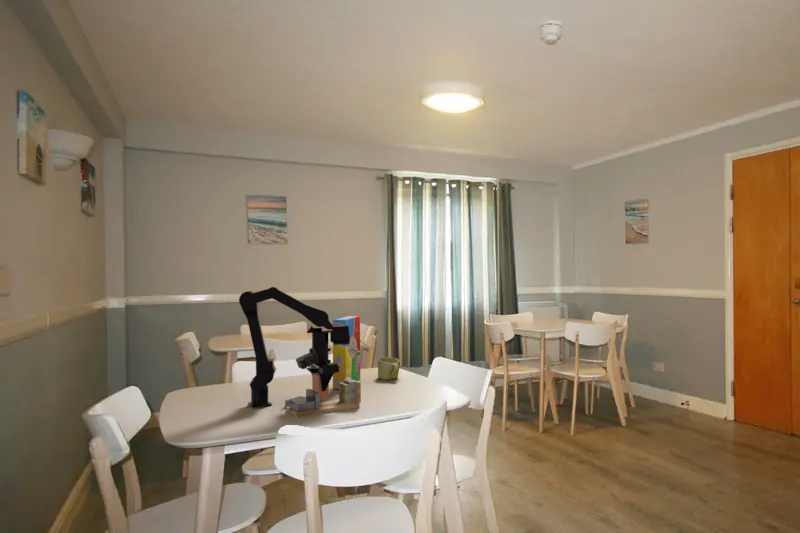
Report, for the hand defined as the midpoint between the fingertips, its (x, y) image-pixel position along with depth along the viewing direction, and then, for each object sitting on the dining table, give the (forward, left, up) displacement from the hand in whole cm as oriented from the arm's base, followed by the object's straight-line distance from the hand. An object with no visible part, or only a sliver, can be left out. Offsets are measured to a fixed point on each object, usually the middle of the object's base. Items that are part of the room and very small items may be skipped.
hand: (320, 389), depth 178 cm
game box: (-20, +21, -4) cm, 29 cm away
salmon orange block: (0, 0, -2) cm, 2 cm away
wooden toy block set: (+9, -3, -4) cm, 10 cm away
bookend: (+9, -10, -3) cm, 14 cm away
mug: (-19, +41, -4) cm, 45 cm away
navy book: (+1, -9, -4) cm, 10 cm away
